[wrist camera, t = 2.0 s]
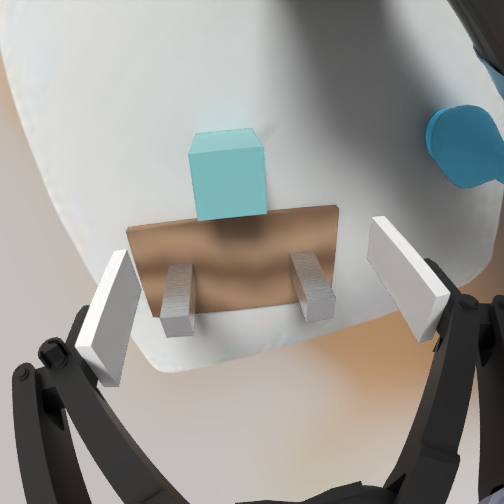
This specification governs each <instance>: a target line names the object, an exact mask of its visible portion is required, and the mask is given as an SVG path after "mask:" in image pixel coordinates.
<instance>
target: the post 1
mask: <svg viewBox="0 0 504 504" xmlns="http://www.w3.org/2000/svg"><path fill="white" fill-rule="evenodd" d="M196 283H197V282H196V278H195V273H194V268H193V263H190V264H181V265H172V266H169V268H168V274H167V279H166V284H165V290H164V296H163V301H162V307H161V313H160V320H161V323H162V326H163V328H164V331H165V334H166V337H167V338H169V337H183V336H194V323H195V301H196Z"/></svg>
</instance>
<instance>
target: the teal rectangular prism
mask: <svg viewBox="0 0 504 504" xmlns="http://www.w3.org/2000/svg"><path fill="white" fill-rule="evenodd" d="M188 156H189V163H190V170H191V177H192V184H193V191H194V198H195V204H196V211H197V217H198V221H204V220H213V219H222V218H231V217H241V216H250V215H260V214H267V199H266V178H265V157H264V146H263V144H262V143H261V141H260V140H259V138H258V137H257V135H256V133H255V132H254V130H253V129H252V128H249V129H237V130H227V131H217V132H208V133H200V134H195V137H194V139H193V142H192V145H191V148H190V151H189V154H188Z"/></svg>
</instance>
